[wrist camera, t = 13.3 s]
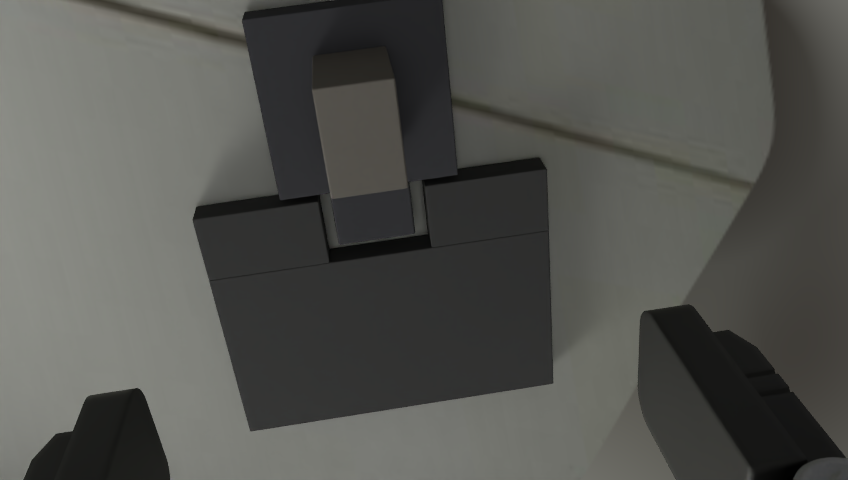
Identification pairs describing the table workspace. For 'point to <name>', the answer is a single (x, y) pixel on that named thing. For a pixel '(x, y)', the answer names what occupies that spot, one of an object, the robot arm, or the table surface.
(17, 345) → the table surface
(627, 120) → the table surface
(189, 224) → the table surface
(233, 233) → the base pad
